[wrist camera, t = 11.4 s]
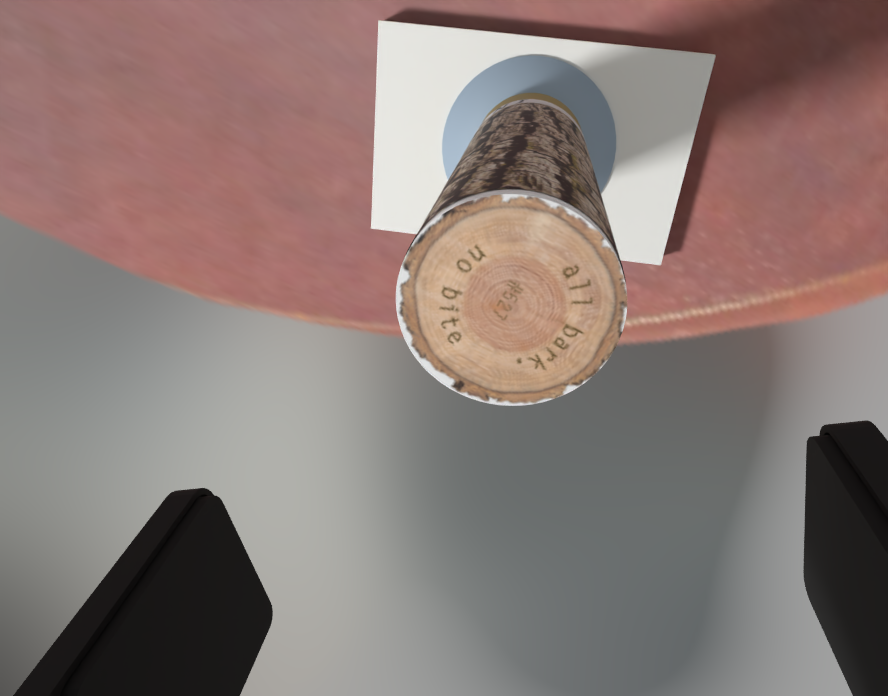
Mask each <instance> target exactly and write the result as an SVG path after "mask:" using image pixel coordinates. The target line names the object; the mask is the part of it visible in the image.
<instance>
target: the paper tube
mask: <svg viewBox="0 0 888 696" xmlns="http://www.w3.org/2000/svg"><path fill="white" fill-rule="evenodd" d="M396 310H397V315H398V321H399V324H400V328H401V331H402V333H403V336H404V338H405V341H406V343H407V344H408V346H409V348H410V350H411V351H412V353H413V354H414V356H415V358H416V359H417V360H418V361H419V362H420V364H421V365H422V366H423V367H424V368H425V369H426V370H427V371H428V372H429V373H430V374H431V375H432V376H433V377H435V378H436V379H437V380H438V381H439V382H441V383H442V384H444V385H445V386H447V387H448V388H450V389H452V390H454V391H455V392H457V393H459V394H462V395H464V396H466V397H469V398H472V399H475V400H478V401H481V402H486V403H490V404H497V405H510V406H516V405H529V404H536V403H541V402H545V401H548V400H552V399H555V398H557V397H560V396H562V395H565V394H567V393H569V392H571V391H572V390H574V389H576V388H578V387H579V386H580V385H582V384H584V383H585V382H586V381H587V380H589V379H590V378H591V377H592V376H593V375H594V374H596V372H598V371H599V370H600V369H601V367H602V366H603V365H604V364H605V362H606V361H607V360H608V359H609V357H610V356H611V354H612V353H613V351H614V349H615V347H616V345H617V343H618V341H619V339H620V336H621V334H622V331H623V328H624V324H625V319H626V312H627V291H626V283H625V276H624V272H623V267H622V264H621V261H620V257H619V254H618V250H617V247H616V244H615V240H614V237H613V233H612V230H611V227H610V223H609V220H608V216H607V213H606V210H605V206H604V203H603V199H602V196H601V193H600V189H599V186H598V183H597V179H596V176H595V172H594V169H593V166H592V162H591V159H590V155H589V152H588V149H587V145H586V143H585V139H584V136H583V133H582V130H581V127H580V124H579V122H578V120H577V119H576V117H575V115H574V114H573V113H572V111H571V110H570V109H569V108H568V107H567V106H566V105H564V104H563V103H562V102H560V101H559V100H557V99H555V98H553V97H551V96H548V95H545V94H541V93H522V94H518V95H514V96H511V97H509V98H507V99H505V100H503V101H502V102H500V103H499V104H498V105H496V106H495V107H494V108H493V109H492V110H491V111H490V112H489V113H488V114H487V116H486V117H485V119H484V120H483V122H482V124H481V125H480V127H479V128H478V130H477V131H476V133H475V135H474V137H473V138H472V140H471V142H470V143H469V145H468V147H467V149H466V150H465V152H464V154H463V155H462V157H461V159H460V161H459V162H458V164H457V166H456V168H455V169H454V171H453V173H452V174H451V176H450V178H449V180H448V181H447V183H446V185H445V186H444V188H443V190H442V192H441V193H440V195H439V197H438V199H437V200H436V202H435V204H434V205H433V207H432V209H431V211H430V212H429V214H428V216H427V217H426V219H425V221H424V223H423V224H422V226H421V228H420V230H419V231H418V233H417V235H416V236H415V238H414V240H413V242H412V243H411V245H410V247H409V249H408V251H407V253H406V256H405V258H404V261H403V263H402V266H401V269H400V273H399V276H398V281H397V287H396Z"/></svg>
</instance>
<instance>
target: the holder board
mask: <svg viewBox="0 0 888 696" xmlns="http://www.w3.org/2000/svg"><path fill="white" fill-rule="evenodd" d="M715 56H716V55H714V54H708V53H698V52H689V51H679V50H669V49H659V48H649V47H640V46H630V45H620V44H610V43H600V42H591V41H581V40H571V39H561V38H552V37H542V36H532V35H522V34H512V33H503V32H493V31H483V30H473V29H463V28H454V27H444V26H434V25H424V24H414V23H405V22H395V21H385V20H379V23H378V51H377V79H376V107H375V135H374V164H373V192H372V220H371V228H372V229H380V230H388V231H396V232H404V233H411V234H417V233H418V231H419V230H420V228H421V226H422V224H423V223H424V221H425V219H426V217H427V216H428V214H429V212H430V211H431V209H432V207H433V205H434V204H435V202H436V200H437V199H438V197H439V195H440V193H441V192H442V190H443V188H444V186H445V185H446V183H447V181H448V180H449V178H450V176H451V174H452V173H453V171H454V169H455V168H456V166H457V164H458V162H459V161H460V159H461V157H462V155H463V154H464V152H465V150H466V149H467V147H468V145H469V143H470V142H471V140H472V138H473V137H474V135H475V133H476V131H477V130H478V128H479V127H480V125H481V124H482V122H483V120H484V119H485V117H486V116H487V114H488V113H489V112H490V111H491V110H492V109H493V108H494V107H495V106H496V105H498V104H499V103H500V102H502V101H503V100H505V99H507V98H509V97H511V96H514V95H518V94H522V93H541V94H545V95H548V96H551V97H553V98H555V99H557V100H559V101H560V102H562V103H563V104H564V105H566V106H567V107H568V108H569V109H570V110H571V111H572V113H573V114H574V115H575V117H576V119H577V120H578V122H579V124H580V127H581V130H582V133H583V136H584V139H585V143H586V145H587V149H588V152H589V155H590V159H591V162H592V166H593V169H594V172H595V176H596V179H597V183H598V186H599V189H600V193H601V196H602V199H603V203H604V206H605V210H606V213H607V216H608V220H609V223H610V227H611V230H612V233H613V237H614V240H615V244H616V247H617V250H618V254H619V257H620V260H623V261H631V262H639V263H647V264H655V265H661V262H662V258H663V255H664V251H665V247H666V243H667V239H668V235H669V232H670V228H671V224H672V220H673V216H674V213H675V209H676V205H677V201H678V197H679V194H680V190H681V186H682V182H683V178H684V174H685V171H686V167H687V163H688V159H689V155H690V152H691V148H692V144H693V140H694V136H695V133H696V129H697V125H698V121H699V117H700V114H701V110H702V106H703V102H704V98H705V94H706V91H707V87H708V83H709V79H710V75H711V72H712V68H713V64H714V60H715Z"/></svg>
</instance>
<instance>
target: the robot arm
mask: <svg viewBox="0 0 888 696" xmlns="http://www.w3.org/2000/svg"><path fill="white" fill-rule="evenodd" d="M805 495H806V496H805V537H804V582H805V587H806V591H807V594H808V597H809V600H810V602H811V604H812V607H813V609H814V611H815V613H816V615H817V618H818V620H819V622H820V624H821V626H822V629H823V631H824V633H825V635H826V637H827V640H828V642H829V644H830V646H831V648H832V651H833V653H834V655H835V657H836V659H837V662H838V664H839V666H840V668H841V670H842V673H843V675H844V677H845V679H846V681H847V684H848V686H849V688H850V690H851V692H852V694H853V696H888V441H887V440H886V438H885V437H884V436H883V434H882V433H881V432H880V431H879V430H878V428H877V427H876V426H875V425H874V424H873V423H872V422H870V421H858V422H849V423H838V424H828V425H824V426H822V428H821V430H820V436H813V437H809V438H808V440H807V454H806V494H805ZM272 612H273V611H272V605H271V602H270V600H269V598H268V596H267V594H266V592H265V590H264V588H263V585H262V583H261V581H260V579H259V577H258V575H257V573H256V571H255V569H254V567H253V565H252V562H251V560H250V559H249V556H248V554H247V552H246V550H245V548H244V546H243V544H242V541H241V539H240V537H239V535H238V533H237V531H236V529H235V527H234V525H233V523H232V521H231V519H230V517H229V515H228V512H227V510H226V508H225V506H224V504H223V502H222V500H221V499H220V498H219V497H217V496H214V495H213V494H212V492H211V491H209V490H208V489H205V488H199V489H189V490H179V491H174V492H172V493H170V494H169V495H168V496H167V497H166V498H165V500H164V501H163V502H162V504H161V505H160V506H159V508H158V509H157V510H156V512H155V513H154V514H153V515H152V517H151V518H150V519H149V520H148V522H147V523H146V524H145V526H144V527H143V528H142V530H141V531H140V532H139V534H138V535H137V536H136V537H135V539H134V540H133V541H132V542H131V544H130V545H129V546H128V548H127V549H126V550H125V552H124V553H123V554H122V555H121V557H120V558H119V559H118V561H117V562H116V563H115V565H114V566H113V567H112V569H111V570H110V571H109V572H108V574H107V575H106V576H105V578H104V579H103V580H102V581H101V583H100V584H99V585H98V587H97V588H96V589H95V590H94V592H93V593H92V594H91V596H90V597H89V598H88V599H87V601H86V602H85V603H84V605H83V606H82V607H81V609H80V610H79V611H78V613H77V614H76V615H75V616H74V618H73V619H72V620H71V621H70V623H69V624H68V625H67V627H66V628H65V629H64V631H63V632H62V633H61V634H60V636H59V637H58V638H57V640H56V641H55V642H54V643H53V645H52V646H51V647H50V649H49V650H48V651H47V653H46V654H45V655H44V656H43V658H42V659H41V660H40V662H39V663H38V664H37V666H36V667H35V668H34V669H33V671H32V672H31V673H30V675H29V676H28V677H27V678H26V680H25V681H24V682H23V684H22V685H21V686H20V688H19V689H18V690H17V692H16V693H15V694H14V695H13V696H240V694H241V692H242V689H243V687H244V684H245V683H246V680H247V678H248V675H249V673H250V671H251V669H252V667H253V664H254V662H255V660H256V658H257V655H258V653H259V651H260V649H261V646H262V644H263V642H264V639H265V637H266V635H267V633H268V630H269V628H270V625H271V622H272Z"/></svg>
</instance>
